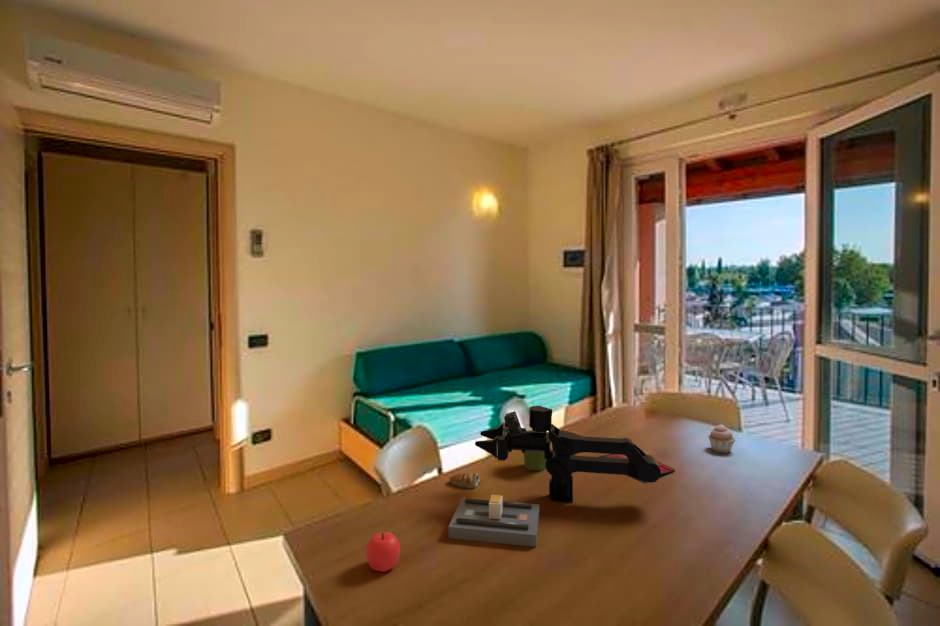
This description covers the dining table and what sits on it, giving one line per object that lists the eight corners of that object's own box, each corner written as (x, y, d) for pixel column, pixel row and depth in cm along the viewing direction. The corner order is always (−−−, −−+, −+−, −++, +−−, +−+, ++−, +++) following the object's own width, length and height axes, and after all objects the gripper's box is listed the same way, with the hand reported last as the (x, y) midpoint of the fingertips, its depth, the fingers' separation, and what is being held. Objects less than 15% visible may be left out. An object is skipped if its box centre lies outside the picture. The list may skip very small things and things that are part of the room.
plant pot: (514, 471, 164) (514, 438, 163) (524, 458, 175) (524, 428, 174) (548, 476, 160) (549, 443, 159) (556, 463, 171) (556, 432, 170)
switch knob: (502, 510, 131) (502, 494, 131) (500, 519, 126) (500, 503, 126) (491, 509, 131) (491, 493, 131) (488, 518, 127) (488, 502, 126)
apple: (384, 580, 107) (384, 546, 106) (358, 569, 111) (357, 535, 110) (408, 562, 113) (407, 529, 113) (382, 552, 117) (381, 520, 117)
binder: (646, 476, 155) (597, 456, 172) (646, 484, 155) (596, 462, 173) (678, 468, 163) (627, 449, 181) (677, 475, 163) (627, 455, 181)
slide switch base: (539, 514, 135) (539, 500, 134) (535, 546, 119) (535, 530, 119) (461, 508, 139) (461, 493, 139) (448, 538, 123) (448, 522, 123)
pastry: (447, 487, 153) (447, 475, 153) (452, 478, 160) (452, 467, 159) (476, 489, 151) (476, 477, 151) (480, 480, 158) (480, 469, 157)
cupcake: (736, 448, 183) (737, 422, 182) (734, 456, 175) (735, 429, 175) (708, 444, 188) (709, 418, 187) (705, 451, 180) (706, 425, 180)
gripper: (531, 406, 154) (482, 404, 157) (526, 424, 136) (471, 421, 139) (531, 440, 155) (483, 437, 158) (526, 463, 137) (472, 459, 140)
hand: (477, 438), depth 149 cm, fingers open, 9 cm apart
